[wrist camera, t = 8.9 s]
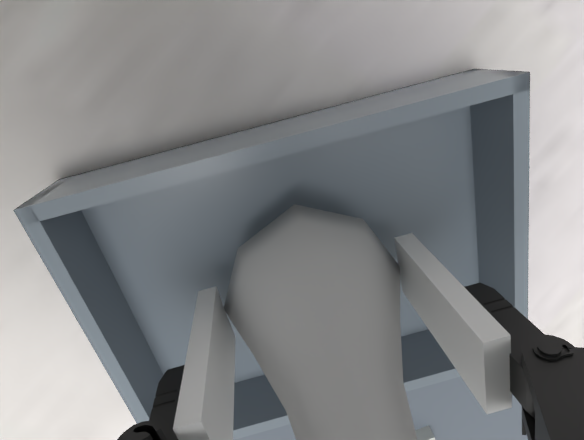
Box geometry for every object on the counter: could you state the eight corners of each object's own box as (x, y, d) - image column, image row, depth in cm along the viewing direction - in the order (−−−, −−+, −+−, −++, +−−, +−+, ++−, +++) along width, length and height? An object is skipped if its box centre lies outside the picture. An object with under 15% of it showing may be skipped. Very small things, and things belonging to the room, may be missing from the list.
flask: (194, 311, 17) (134, 619, 8) (286, 171, 15) (357, 355, 6) (330, 371, 19) (412, 668, 10) (425, 255, 17) (639, 489, 8)
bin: (58, 180, 16) (13, 210, 13) (474, 68, 17) (529, 71, 13) (170, 401, 22) (158, 460, 18) (485, 313, 22) (527, 357, 19)
